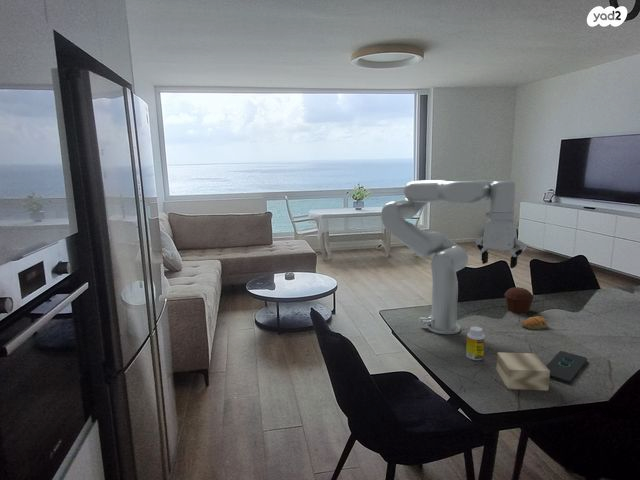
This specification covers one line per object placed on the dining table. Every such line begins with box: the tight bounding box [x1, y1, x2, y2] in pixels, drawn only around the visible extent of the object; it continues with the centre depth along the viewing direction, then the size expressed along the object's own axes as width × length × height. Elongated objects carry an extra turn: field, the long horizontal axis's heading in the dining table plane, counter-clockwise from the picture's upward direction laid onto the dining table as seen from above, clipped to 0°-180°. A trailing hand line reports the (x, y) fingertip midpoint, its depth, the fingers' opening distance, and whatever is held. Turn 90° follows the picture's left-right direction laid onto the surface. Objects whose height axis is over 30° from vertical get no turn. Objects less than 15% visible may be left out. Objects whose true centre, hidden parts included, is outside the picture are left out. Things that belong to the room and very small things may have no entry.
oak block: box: [495, 351, 550, 392], centre depth 122 cm, size 11×11×6 cm
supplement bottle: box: [465, 326, 486, 361], centre depth 136 cm, size 6×6×10 cm
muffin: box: [503, 286, 535, 315], centre depth 179 cm, size 12×11×10 cm
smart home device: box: [545, 350, 588, 385], centre depth 129 cm, size 8×2×20 cm
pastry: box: [521, 315, 549, 330], centre depth 161 cm, size 9×7×4 cm
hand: (498, 265), depth 143 cm, fingers open, 9 cm apart
